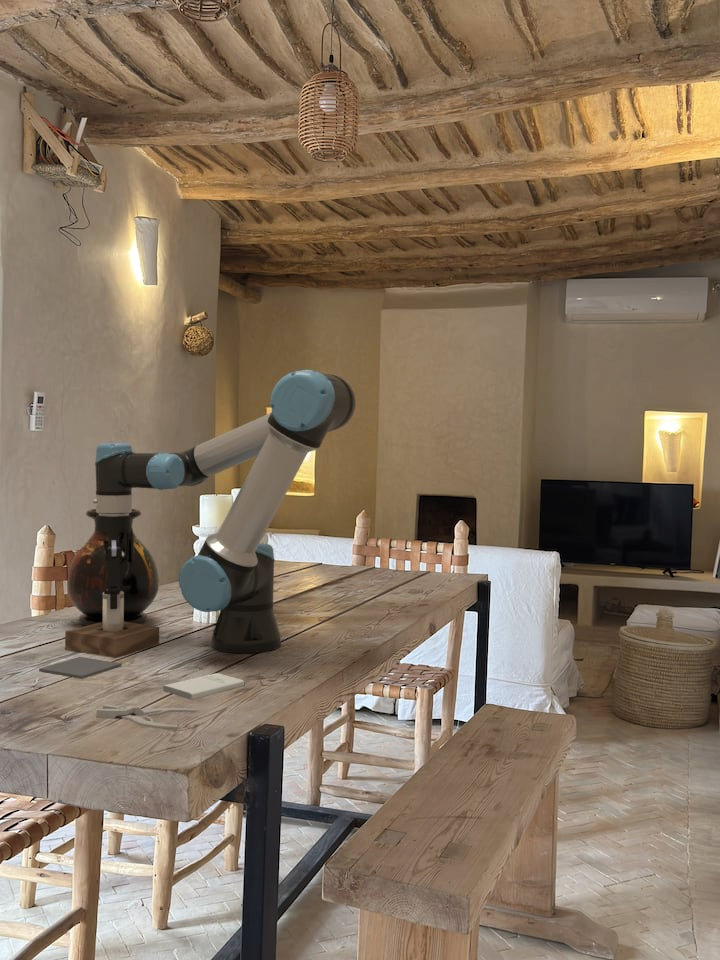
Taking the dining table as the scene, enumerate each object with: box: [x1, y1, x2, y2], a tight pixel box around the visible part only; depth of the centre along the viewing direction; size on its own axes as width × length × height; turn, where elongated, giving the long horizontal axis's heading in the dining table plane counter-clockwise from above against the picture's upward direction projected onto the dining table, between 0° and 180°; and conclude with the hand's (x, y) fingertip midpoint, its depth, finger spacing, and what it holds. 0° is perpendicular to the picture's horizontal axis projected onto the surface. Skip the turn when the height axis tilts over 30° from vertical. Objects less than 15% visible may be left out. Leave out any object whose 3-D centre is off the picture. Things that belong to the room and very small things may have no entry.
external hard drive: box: [162, 672, 245, 701], centre depth 167 cm, size 2×8×12 cm
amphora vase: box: [66, 508, 160, 627], centre depth 220 cm, size 22×22×28 cm
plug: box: [103, 591, 124, 632], centre depth 197 cm, size 4×4×12 cm
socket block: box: [64, 622, 160, 658], centre depth 197 cm, size 14×14×4 cm
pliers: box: [96, 704, 197, 730], centre depth 149 cm, size 10×2×15 cm
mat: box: [38, 656, 123, 679], centre depth 179 cm, size 11×11×1 cm
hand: (113, 621), depth 197 cm, fingers closed on plug, 4 cm apart
